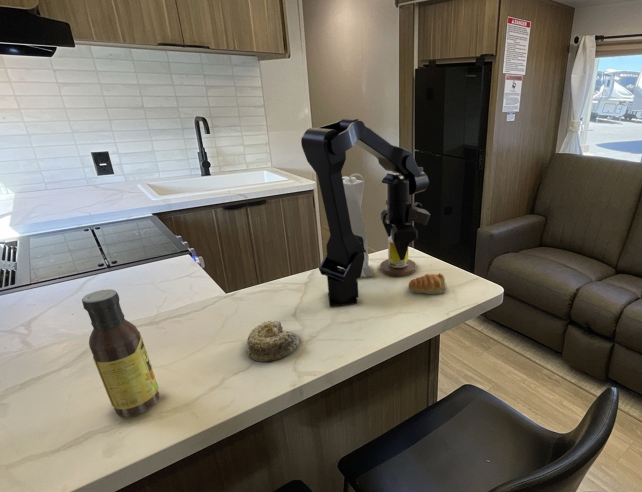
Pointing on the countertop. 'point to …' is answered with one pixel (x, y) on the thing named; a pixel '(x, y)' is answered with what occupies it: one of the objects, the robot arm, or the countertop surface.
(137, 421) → the countertop surface
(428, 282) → the pastry
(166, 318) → the countertop surface
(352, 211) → the skyscraper
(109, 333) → the sauce bottle
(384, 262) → the brown round coaster
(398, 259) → the supplement bottle
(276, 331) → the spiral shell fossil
